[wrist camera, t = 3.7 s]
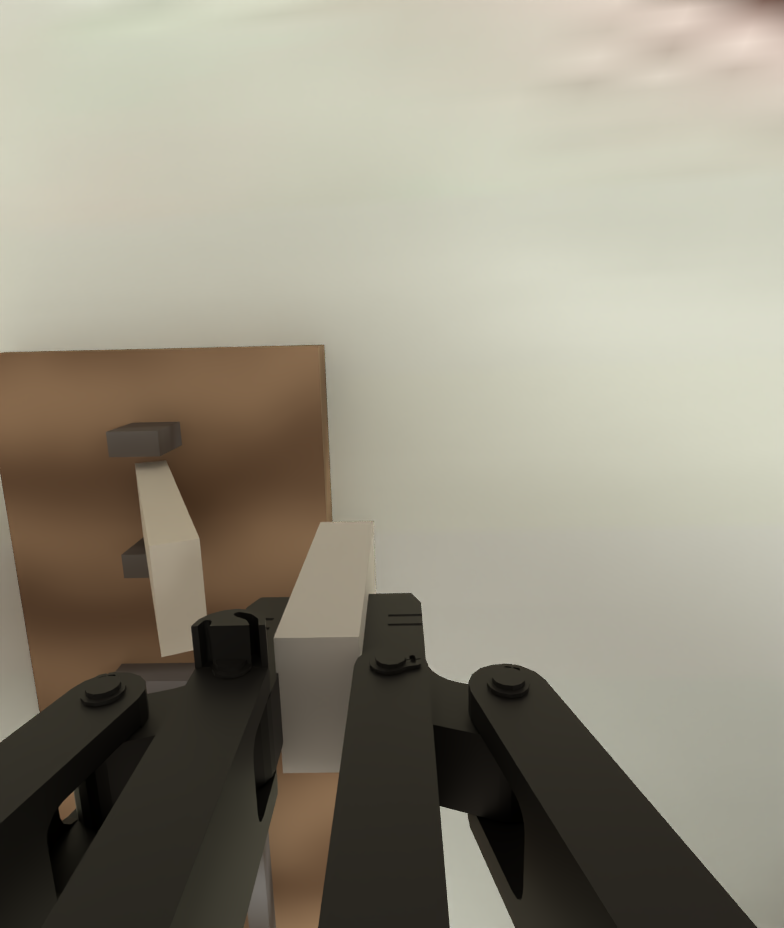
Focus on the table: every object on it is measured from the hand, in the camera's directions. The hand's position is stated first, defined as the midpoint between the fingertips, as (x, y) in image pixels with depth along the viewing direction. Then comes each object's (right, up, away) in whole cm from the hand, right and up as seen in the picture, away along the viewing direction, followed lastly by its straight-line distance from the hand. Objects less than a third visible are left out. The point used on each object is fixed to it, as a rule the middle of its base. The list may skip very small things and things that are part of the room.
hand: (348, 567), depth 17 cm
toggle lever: (-9, +1, +8) cm, 12 cm away
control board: (-8, -10, +14) cm, 19 cm away
